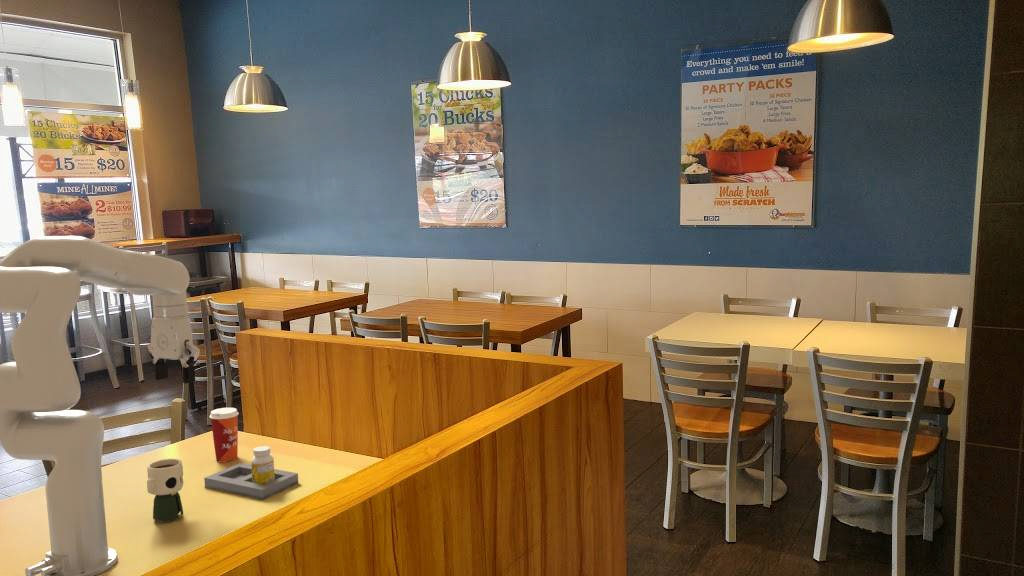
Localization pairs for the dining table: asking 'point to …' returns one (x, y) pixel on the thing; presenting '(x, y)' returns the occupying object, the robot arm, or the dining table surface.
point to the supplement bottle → (262, 466)
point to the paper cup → (225, 433)
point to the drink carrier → (249, 482)
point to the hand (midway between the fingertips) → (175, 380)
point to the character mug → (165, 488)
